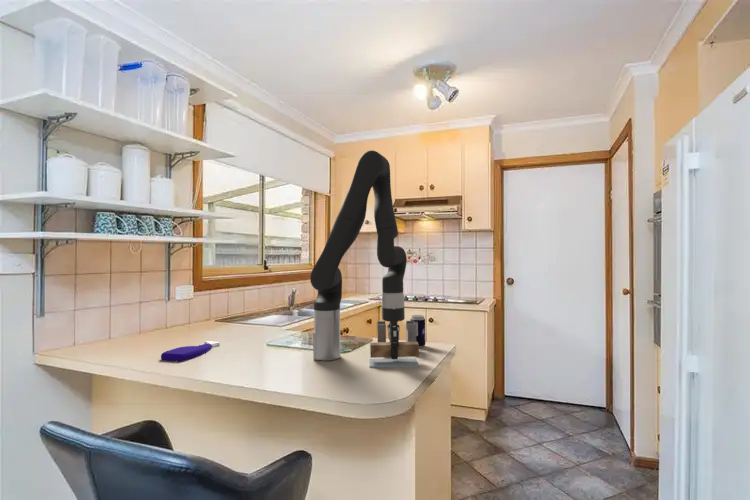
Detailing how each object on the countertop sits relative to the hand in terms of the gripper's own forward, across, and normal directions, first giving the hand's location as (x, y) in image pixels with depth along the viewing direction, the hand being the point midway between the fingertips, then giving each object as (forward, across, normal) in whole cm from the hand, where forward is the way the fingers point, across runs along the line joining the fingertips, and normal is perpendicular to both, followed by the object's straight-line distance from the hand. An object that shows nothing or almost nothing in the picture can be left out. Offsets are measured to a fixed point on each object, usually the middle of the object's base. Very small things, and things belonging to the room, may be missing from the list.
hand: (394, 356), depth 135 cm
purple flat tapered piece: (+2, -19, -75) cm, 77 cm away
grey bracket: (+2, -15, +7) cm, 17 cm away
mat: (+2, 0, 0) cm, 2 cm away
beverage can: (+3, -23, +11) cm, 25 cm away
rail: (0, 0, 0) cm, 0 cm away
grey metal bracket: (+2, -15, -4) cm, 16 cm away
